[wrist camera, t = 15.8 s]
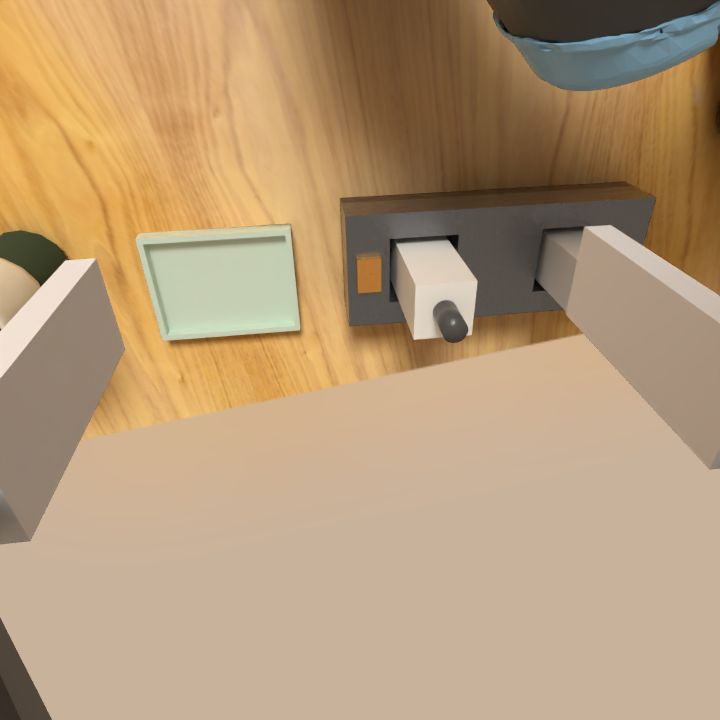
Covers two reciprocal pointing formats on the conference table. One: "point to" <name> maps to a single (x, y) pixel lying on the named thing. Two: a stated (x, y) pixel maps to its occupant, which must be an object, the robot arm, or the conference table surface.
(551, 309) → the power strip
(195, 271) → the tray
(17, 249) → the character mug
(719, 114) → the supplement bottle
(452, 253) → the plug
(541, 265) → the twin plug
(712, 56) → the conference table surface
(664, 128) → the conference table surface
